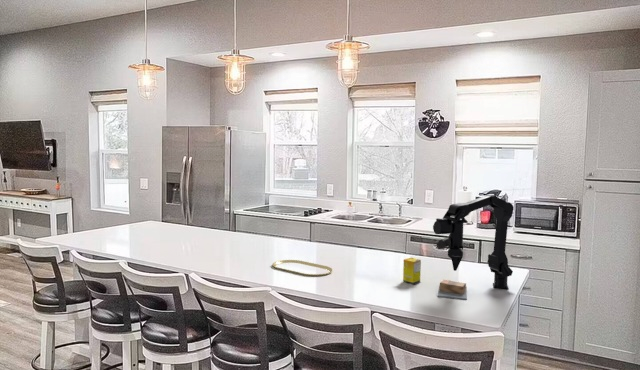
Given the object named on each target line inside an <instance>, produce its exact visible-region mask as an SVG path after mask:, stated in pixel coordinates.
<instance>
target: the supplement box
mask: <svg viewBox="0 0 640 370" xmlns="http://www.w3.org/2000/svg"><path fill="white" fill-rule="evenodd" d="M421 264H422V260H421V259H419V258H414V257H409V258H403V270H402V272H403V273H402V275H403V276H402V282H403V283H406V284H410V285H415V284H418V283H421V268H422V267H421V266H422V265H421Z"/></svg>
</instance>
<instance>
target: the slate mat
mask: <svg viewBox="0 0 640 370" xmlns="http://www.w3.org/2000/svg"><path fill="white" fill-rule="evenodd" d="M467 295H468V292H467V286H466V291H465V292H464V293H463V294H456V293H450V292H444V291H440V284H439V285H438V292H437V298H445V299H453V300H454V299H455V300H463V301H464V300H466V301H467V299H468V296H467Z"/></svg>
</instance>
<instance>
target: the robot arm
mask: <svg viewBox="0 0 640 370" xmlns="http://www.w3.org/2000/svg"><path fill="white" fill-rule="evenodd" d="M488 206H489V207H490V208H492V210H493V215H494V217H495V218H494V219H495V221H496V223H495V232H494V234H495V235H494V241H493V242H494V243H493V252H491V254H490V253H489V254H488V255H487V262H486V263H487V266H488V267H489V269H490V272H491V273H493V274H494V278H493V282H492V287H493V288H494V289H503V290H509V285H508V277H511V276H512V275H513V270H512V268H511V267H510V266H509V261H508V260H509V259H508V256H507V254H506V247H507V236H508V226H509V225H508V224H509V221H510V219H511V218H512V217H513V213H514V205H513V204H512V203H511V202H509V201H505V200H503V199H502V198H500V197H498V196H496V195H495V194H490V193H489V194H488V193H487V194H485V195H484V196H481V197H478V198H475V199H473V200H469V201H467V202H457V203H452V204H450V205H449V206H448V208H447V211H446V213H444V215H443V217H442V218H439V217H438V218H436V219H435V221H434V223H433V225H432V231H433V232H434V234H435V235H445V234H447V235H448V237H445V238H441V239H438V240H436V241H435V243H436V247H437V249H438V250H441V249H443V248H446V247H447V248H448V250H447V256H448V258H450V259H451V263H452V268H453V271H457V270H458V268H459V267H460V266H459V265H460V263H461V261H462V260H463V257H464V241H463V240H464V224H468V222H469V221H468V220H467V219H466V217H467V216H469V215H470V214H471V212H474V211H477V210H479V209H482V208H484V207H488Z"/></svg>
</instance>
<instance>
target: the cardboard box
mask: <svg viewBox="0 0 640 370" xmlns="http://www.w3.org/2000/svg"><path fill="white" fill-rule="evenodd" d="M439 285H440V291H444V292H450V293H456V294H463V293H464V292H465V291H466V287H467V283H466V282H460V281H453V280H449V279H442V280H441V281H440V282H439Z"/></svg>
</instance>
